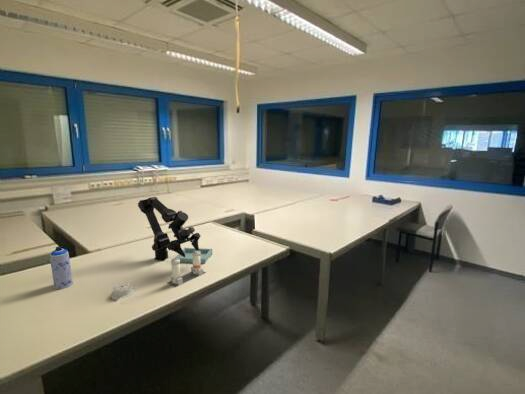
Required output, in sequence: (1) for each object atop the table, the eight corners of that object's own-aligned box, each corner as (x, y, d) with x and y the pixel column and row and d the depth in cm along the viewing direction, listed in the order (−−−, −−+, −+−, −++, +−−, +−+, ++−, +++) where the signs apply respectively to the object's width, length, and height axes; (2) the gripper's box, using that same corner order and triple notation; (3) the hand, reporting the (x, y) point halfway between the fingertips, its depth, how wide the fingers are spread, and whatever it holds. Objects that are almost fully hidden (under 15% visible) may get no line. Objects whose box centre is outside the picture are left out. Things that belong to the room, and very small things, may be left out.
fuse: (170, 284, 140) (169, 261, 138) (174, 280, 144) (173, 258, 142) (179, 284, 140) (178, 262, 137) (182, 280, 144) (181, 258, 141)
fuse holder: (166, 284, 142) (166, 277, 141) (197, 270, 157) (197, 263, 156) (175, 289, 137) (174, 281, 137) (206, 274, 153) (206, 267, 152)
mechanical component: (129, 300, 128) (138, 289, 137) (128, 292, 127) (137, 281, 136) (106, 301, 127) (117, 289, 137) (105, 292, 126) (116, 281, 136)
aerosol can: (66, 279, 145) (61, 243, 141) (76, 282, 142) (71, 245, 138) (50, 287, 138) (44, 248, 133) (60, 290, 135) (55, 251, 131)
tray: (175, 263, 165) (174, 257, 165) (184, 252, 181) (184, 247, 180) (205, 265, 164) (205, 259, 163) (212, 254, 180) (212, 248, 179)
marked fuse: (191, 274, 150) (191, 253, 148) (194, 270, 154) (193, 250, 152) (199, 275, 150) (198, 253, 147) (201, 271, 154) (201, 250, 152)
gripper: (169, 226, 145) (183, 252, 141) (197, 218, 159) (211, 241, 155) (161, 237, 151) (175, 262, 147) (189, 229, 166) (202, 251, 161)
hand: (191, 254), depth 152 cm, fingers open, 9 cm apart
